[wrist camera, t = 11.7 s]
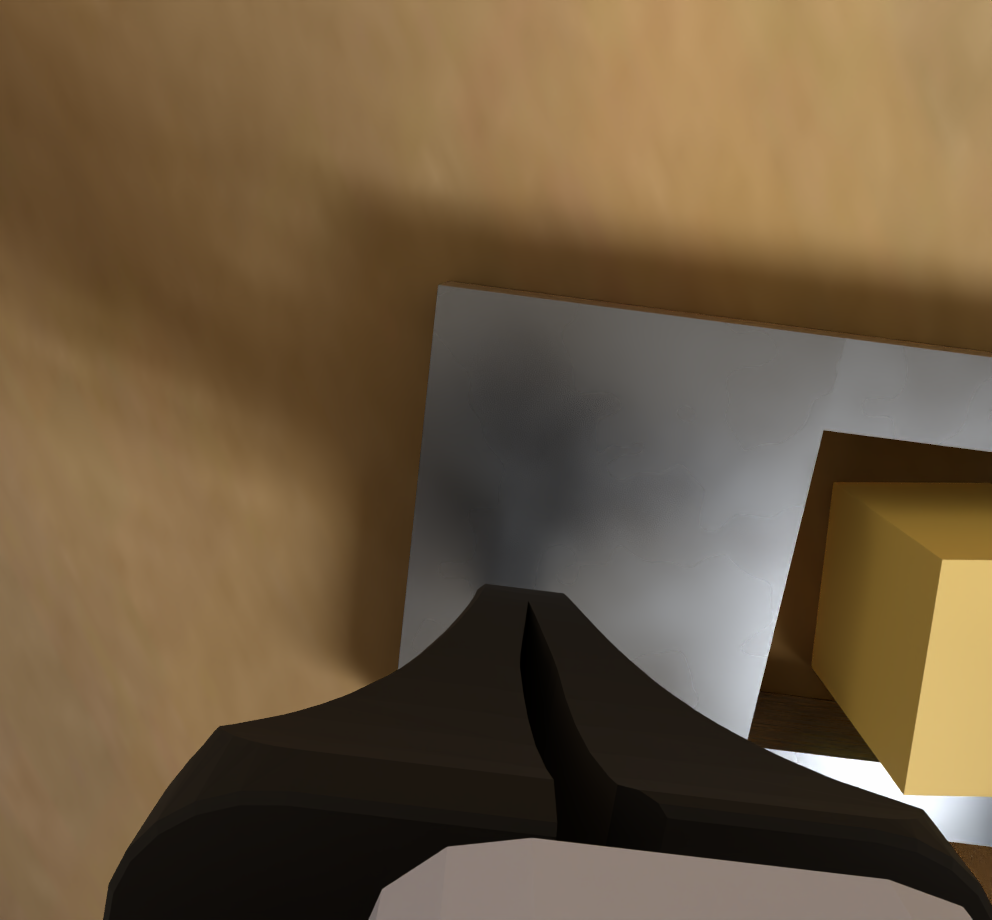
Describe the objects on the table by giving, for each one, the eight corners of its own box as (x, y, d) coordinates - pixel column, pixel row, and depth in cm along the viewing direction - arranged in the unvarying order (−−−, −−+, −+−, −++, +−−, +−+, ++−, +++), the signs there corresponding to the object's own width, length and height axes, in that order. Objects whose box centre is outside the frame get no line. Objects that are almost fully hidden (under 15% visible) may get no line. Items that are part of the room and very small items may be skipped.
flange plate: (402, 710, 16) (386, 775, 14) (448, 280, 14) (437, 285, 12) (1047, 790, 16) (1123, 866, 14) (1200, 379, 14) (1317, 399, 12)
